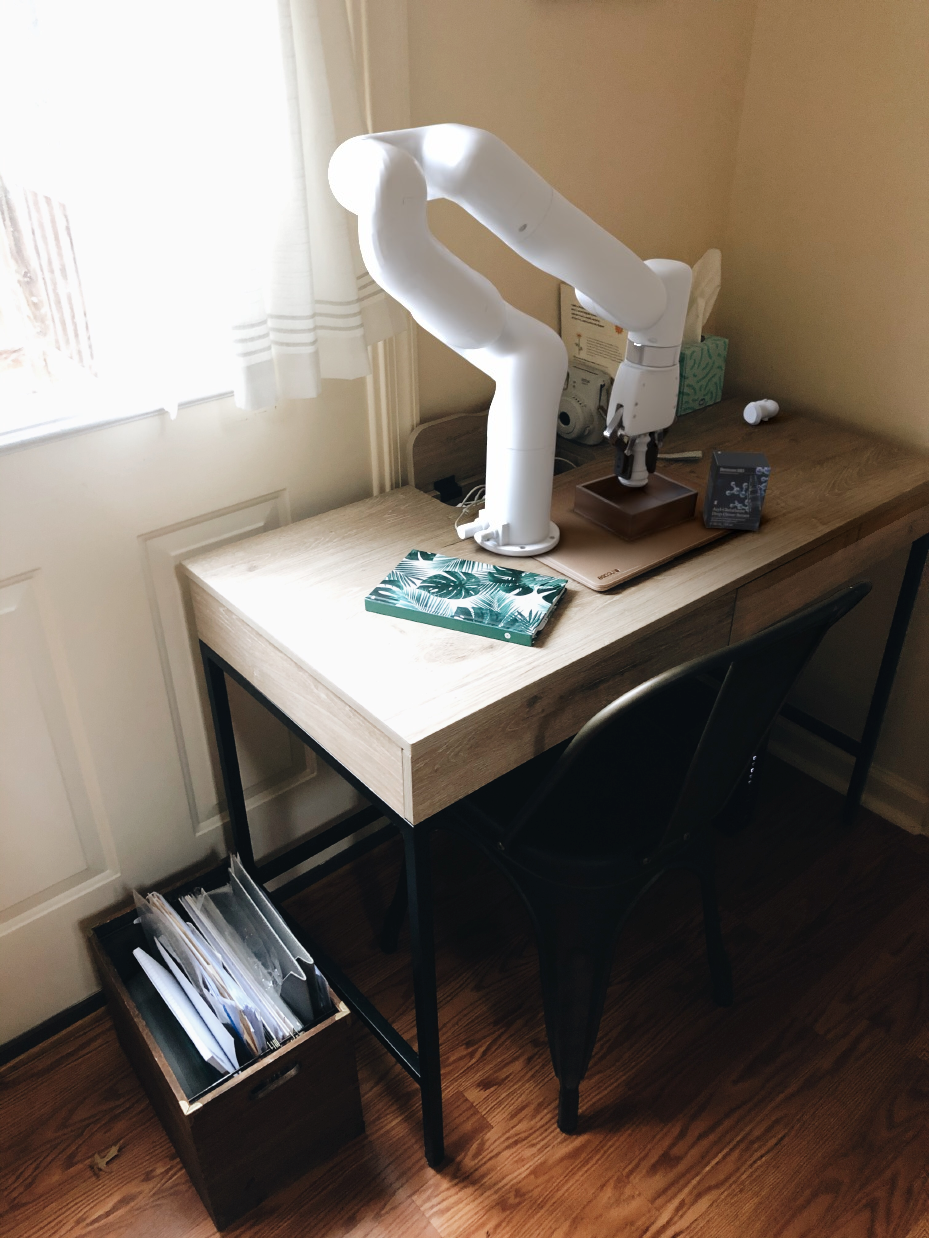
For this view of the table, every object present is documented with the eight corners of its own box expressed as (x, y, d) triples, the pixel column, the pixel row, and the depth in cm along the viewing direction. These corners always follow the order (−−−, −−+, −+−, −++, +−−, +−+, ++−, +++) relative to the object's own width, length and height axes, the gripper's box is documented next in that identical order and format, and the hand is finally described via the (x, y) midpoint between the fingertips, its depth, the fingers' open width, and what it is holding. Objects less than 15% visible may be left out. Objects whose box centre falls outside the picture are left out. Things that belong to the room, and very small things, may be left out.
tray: (628, 541, 141) (631, 515, 139) (573, 510, 149) (575, 485, 147) (694, 517, 148) (698, 491, 146) (638, 489, 156) (641, 465, 154)
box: (705, 529, 145) (717, 464, 139) (701, 512, 149) (712, 449, 144) (758, 532, 144) (772, 467, 138) (752, 515, 149) (765, 451, 143)
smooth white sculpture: (761, 418, 188) (783, 418, 184) (734, 426, 184) (757, 426, 180) (760, 396, 187) (782, 395, 183) (733, 403, 183) (755, 403, 179)
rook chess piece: (631, 473, 148) (639, 424, 144) (653, 483, 145) (662, 433, 141) (611, 480, 145) (618, 430, 141) (633, 490, 143) (641, 439, 138)
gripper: (674, 339, 142) (655, 455, 151) (590, 354, 133) (575, 476, 143) (712, 352, 137) (690, 471, 146) (628, 368, 128) (610, 494, 138)
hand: (634, 472), depth 144 cm, fingers closed on rook chess piece, 4 cm apart
